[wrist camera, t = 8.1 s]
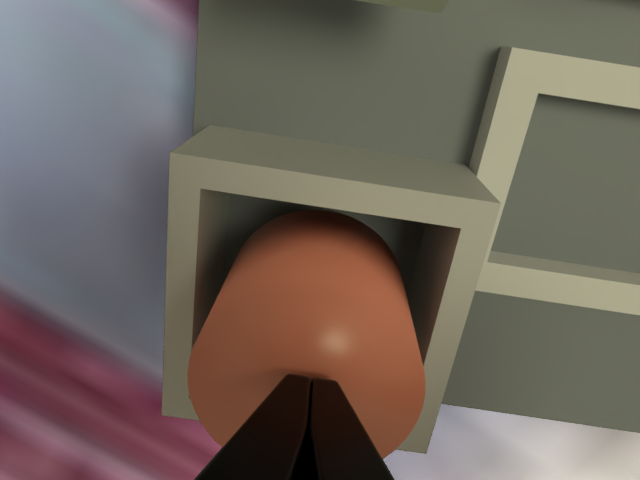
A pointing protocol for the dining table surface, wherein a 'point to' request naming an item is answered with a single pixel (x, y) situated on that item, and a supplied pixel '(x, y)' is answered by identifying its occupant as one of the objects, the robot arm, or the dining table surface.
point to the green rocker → (414, 4)
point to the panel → (433, 185)
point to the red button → (311, 327)
